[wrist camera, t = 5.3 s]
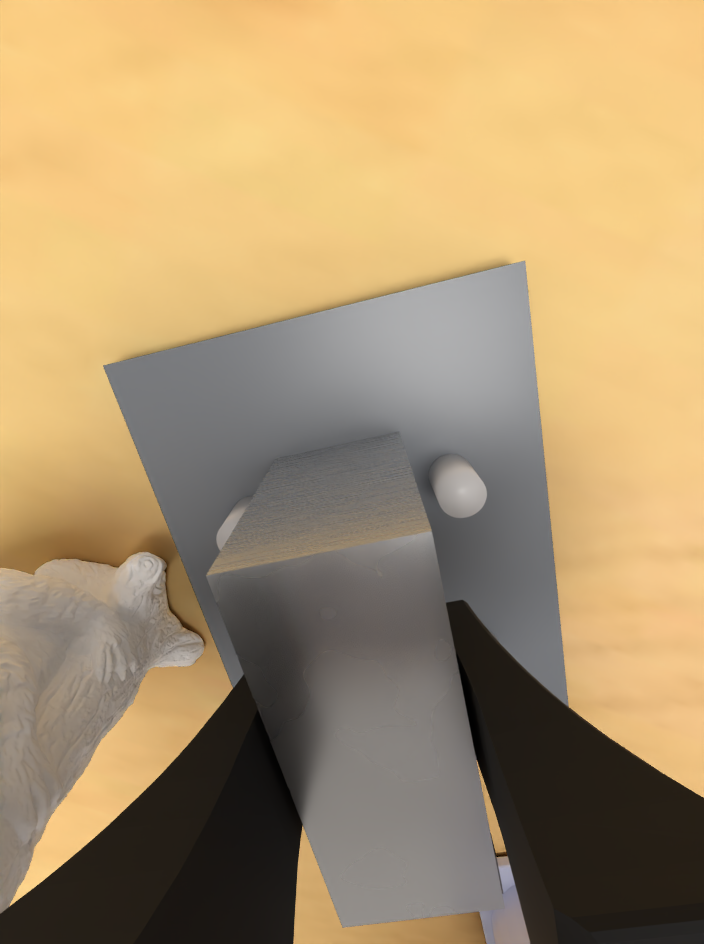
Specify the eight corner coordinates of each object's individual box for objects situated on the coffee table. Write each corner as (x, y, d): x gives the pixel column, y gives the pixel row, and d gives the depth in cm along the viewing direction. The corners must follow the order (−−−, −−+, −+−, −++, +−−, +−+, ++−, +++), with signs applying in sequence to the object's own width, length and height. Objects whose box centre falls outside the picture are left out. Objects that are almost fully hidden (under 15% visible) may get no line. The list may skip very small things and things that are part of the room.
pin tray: (560, 721, 17) (594, 790, 14) (279, 764, 18) (265, 836, 15) (511, 265, 12) (551, 251, 9) (122, 362, 13) (64, 373, 10)
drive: (452, 687, 15) (507, 911, 9) (348, 704, 15) (341, 931, 10) (400, 430, 12) (435, 530, 7) (274, 458, 13) (202, 576, 7)
